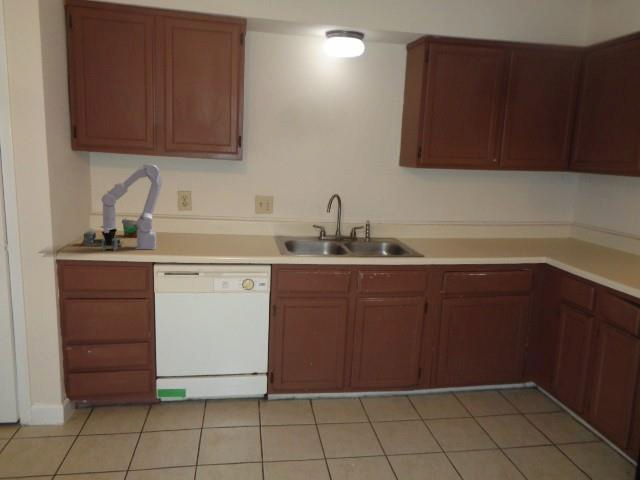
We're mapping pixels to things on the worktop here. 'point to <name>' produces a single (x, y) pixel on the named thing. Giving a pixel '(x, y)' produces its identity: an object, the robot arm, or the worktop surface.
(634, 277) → the worktop surface
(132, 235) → the food container
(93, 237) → the rail base
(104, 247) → the block
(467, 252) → the worktop surface
